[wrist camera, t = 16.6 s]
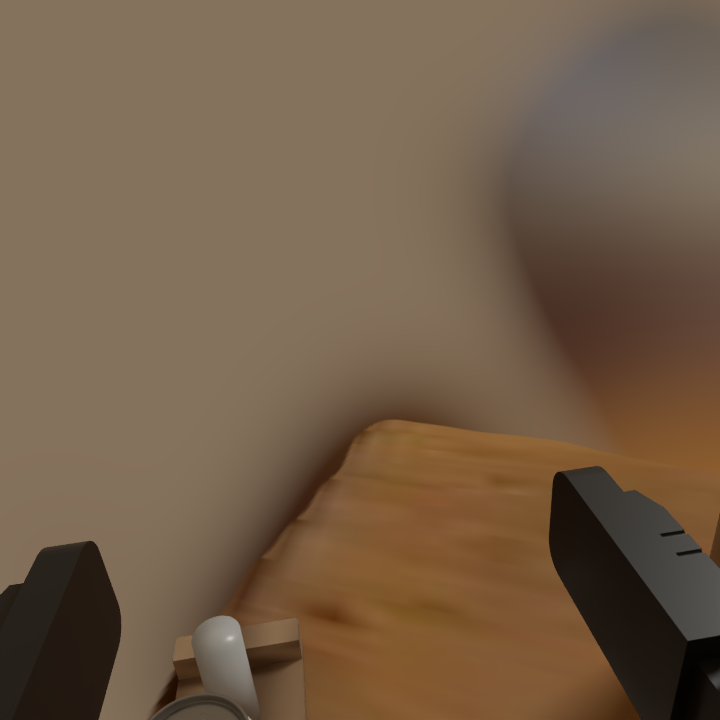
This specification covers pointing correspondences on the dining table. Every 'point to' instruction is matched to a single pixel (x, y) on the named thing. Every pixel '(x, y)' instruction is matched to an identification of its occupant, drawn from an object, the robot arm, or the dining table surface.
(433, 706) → the dining table surface
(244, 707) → the grey peg
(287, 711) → the rail
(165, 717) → the can
